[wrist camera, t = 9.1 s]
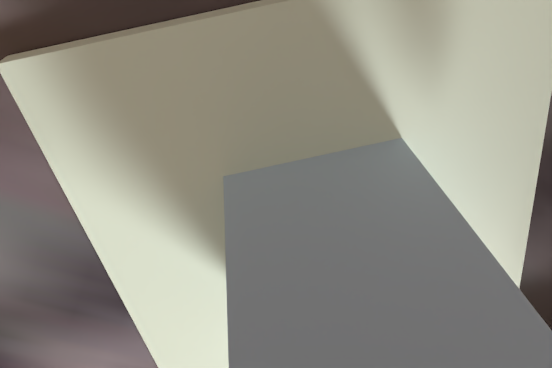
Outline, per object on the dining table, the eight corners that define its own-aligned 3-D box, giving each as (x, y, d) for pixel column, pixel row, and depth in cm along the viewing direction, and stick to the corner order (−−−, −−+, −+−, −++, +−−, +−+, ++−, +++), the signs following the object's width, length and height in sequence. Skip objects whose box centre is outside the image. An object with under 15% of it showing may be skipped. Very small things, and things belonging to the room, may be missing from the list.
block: (405, 268, 14) (551, 552, 8) (259, 300, 14) (292, 607, 8) (401, 137, 11) (611, 407, 5) (223, 176, 11) (232, 488, 5)
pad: (503, 311, 16) (513, 324, 16) (175, 382, 16) (174, 398, 16) (557, -65, 10) (576, -63, 9) (6, 55, 10) (-5, 64, 9)
